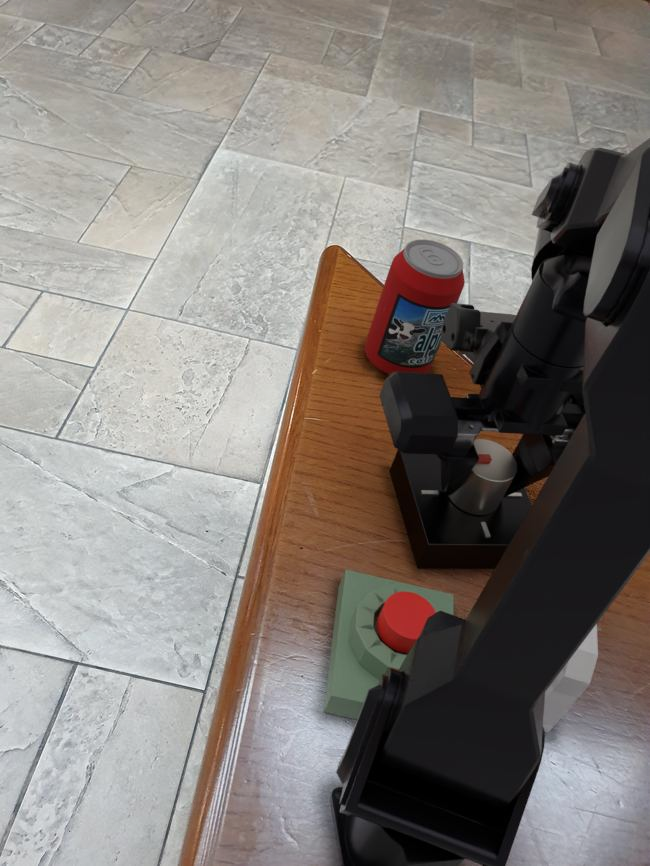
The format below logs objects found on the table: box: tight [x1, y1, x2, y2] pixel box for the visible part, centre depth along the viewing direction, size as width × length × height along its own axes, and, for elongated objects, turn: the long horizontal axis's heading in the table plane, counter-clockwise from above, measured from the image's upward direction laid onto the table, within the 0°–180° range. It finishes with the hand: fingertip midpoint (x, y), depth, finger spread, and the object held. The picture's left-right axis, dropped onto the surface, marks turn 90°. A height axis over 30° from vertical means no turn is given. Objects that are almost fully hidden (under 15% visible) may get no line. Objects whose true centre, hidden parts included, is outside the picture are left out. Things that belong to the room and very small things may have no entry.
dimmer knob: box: [448, 438, 517, 515], centre depth 66 cm, size 4×4×4 cm
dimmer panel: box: [388, 449, 533, 569], centre depth 69 cm, size 10×10×3 cm
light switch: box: [543, 623, 599, 734], centre depth 59 cm, size 2×12×8 cm, turn 168°
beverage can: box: [364, 238, 466, 376], centre depth 79 cm, size 7×7×12 cm
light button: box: [377, 592, 436, 653], centre depth 56 cm, size 4×4×2 cm
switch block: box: [323, 569, 455, 721], centre depth 57 cm, size 10×8×4 cm
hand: (473, 491), depth 67 cm, fingers closed on dimmer knob, 4 cm apart
